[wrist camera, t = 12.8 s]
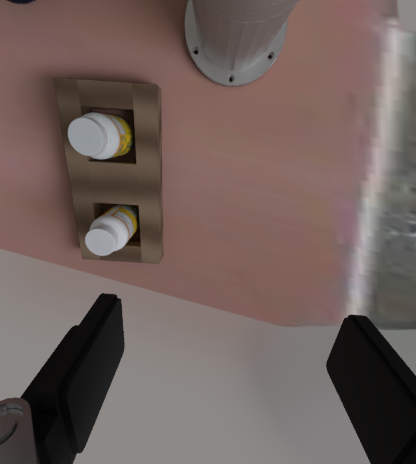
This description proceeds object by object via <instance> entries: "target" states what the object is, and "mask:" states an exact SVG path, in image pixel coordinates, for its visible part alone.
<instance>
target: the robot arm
mask: <svg viewBox="0 0 416 464" xmlns="http://www.w3.org/2000/svg"><path fill="white" fill-rule="evenodd" d="M297 2H298V0H188V2H187V6H186V10H185V19H184V28H185V38H186V43H187V47H188V50H189V53H190V55H191V57H192V59H193V61H194V63H195V65H196V66H197V68H198V69H199V70H200V72H201V73H202V74H204V75H205V76H206V77H207V78H208V79H210V80H211V81H213V82H214V83H217V84H220V85H222V86H228V87H237V86H243V85H246V84H249V83H251V82H253V81H255V80H257V79H258V78H260V77H261V76H262V75H263V74H264V73H265V72H266V71H267V70H268V69H269V68H270V67H271V66H272V64H273V63H274V62H275V60H276V59H277V57H278V55H279V53H280V51H281V49H282V46H283V43H284V40H285V36H286V30H287V24H288V16H289V15H290V13H291V11H292V10H293V8H294V7H295V5H296V3H297ZM195 51H198V54H197V55H196V54H194V52H195ZM269 55H270V56H271V59H268V56H269ZM229 78H232V79H233V81H232V82H230V81H229ZM123 352H124V331H123V318H122V304H121V299H119V298H117V295H115V294H104V293H102V294H101V295H100V296H99V297H98V299H97V300H96V302H95V303H94V304H93V306H92V307H91V309H90V310H89V311H88V313H87V314H86V316H85V317H84V319H83V320H82V322H81V323H80V324H79V326H78V325H75V326H73V327H72V328H71V329H70V330H69V331H68V333H67V334H66V335H65V337H64V338H63V340H62V341H61V342H60V344H59V345H58V346H57V348H56V349H55V351H54V352H53V354H52V355H51V356H50V358H49V359H48V361H47V362H46V363H45V364H44V366H43V367H42V368H41V370H40V371H39V373H38V374H37V376H36V377H35V378H34V380H33V381H32V382H31V384H30V385H29V386H28V388H27V389H26V390H25V392H24V393H23V395H22V396H21V398H8V399H5V400H2V401H0V464H73V461H74V459H75V457H76V454H77V453H81V452H82V451H83V449H84V448H85V446H86V443H87V441H88V438H89V436H90V433H91V431H92V428H93V426H94V424H95V421H96V419H97V416H98V414H99V411H100V409H101V406H102V404H103V402H104V399H105V397H106V394H107V392H108V389H109V387H110V385H111V382H112V380H113V377H114V375H115V372H116V370H117V368H118V365H119V363H120V360H121V358H122V355H123ZM326 366H327V371H328V374H329V376H330V378H331V380H332V382H333V384H334V386H335V389H336V391H337V393H338V395H339V397H340V399H341V401H342V403H343V406H344V408H345V410H346V412H347V414H348V416H349V418H350V420H351V423H352V425H353V427H354V429H355V431H356V433H357V435H358V437H359V439H360V442H361V443H362V446H363V448H364V450H365V452H366V454H367V457H368V459H369V461H370V463H371V464H416V376H415V375H414V373H413V372H412V371H411V370H410V368H409V367H408V366H407V365H406V363H405V362H404V361H403V360H402V359H401V358H400V356H399V355H398V354H397V352H396V351H395V350H394V349H393V348H392V346H391V345H390V344H389V343H388V342H387V340H386V339H385V338H384V337H383V335H382V334H381V333H380V332H379V331H378V329H377V328H376V327H375V326H374V325H373V323H372V322H371V321H370V320H369V318H367V317H366V316H361V315H349V316H348V317H347V318H345V319H344V320H343V323H342V325H341V328H340V331H339V333H338V336H337V338H336V340H335V343H334V345H333V348H332V350H331V353H330V355H329V358H328V360H327V364H326Z"/></svg>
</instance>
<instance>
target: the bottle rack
mask: <svg viewBox="0 0 416 464" xmlns="http://www.w3.org/2000/svg"><path fill="white" fill-rule="evenodd" d="M53 80H54V86H55V93H56V99H57V105H58V111H59V117H60V124H61V130H62V136H63V142H64V148H65V155H66V161H67V167H68V173H69V179H70V186H71V192H72V198H73V204H74V210H75V217H76V223H77V229H78V235H79V241H80V247H81V254H82V259H91V260H107V261H122V262H138V263H153V264H160V262H161V259H162V257H163V209H162V136H161V88H159V87H158V86H157V85H156V84H142V83H126V82H111V81H96V80H80V79H65V78H53ZM91 108H93V109H109V110H124V111H134V126H135V145H136V162H130V161H115V160H99V159H95V158H92V157H90V156H86V155H82V154H80V153H79V152H77V151H76V150H75V149H74V148H73V147H72V145H71V144H70V141H69V138H68V128H69V125H70V124H71V122H72V121H73V120H75V119H77V118H81V117H82V116H83V115H85V114H87V113H92V111H91ZM102 203H111V204H127V205H139V220H140V239H135V238H130V239H129V241H128V242H127V243H126V244H125V246H124V247H122V248H121V249H119V250H117V251H113V252H112V253H111V254H109V255H106V256H99V255H96V254H94V253H92V252H91V251H90V250H89V249H88V248H87V246H86V244H85V236H86V234H87V233H88V232H89V231H90V226H91V224H92V223H93V222H94V221H95V220H96V219H97V218H98V217H100V216H101V215H102V214H103V207H102Z"/></svg>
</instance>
